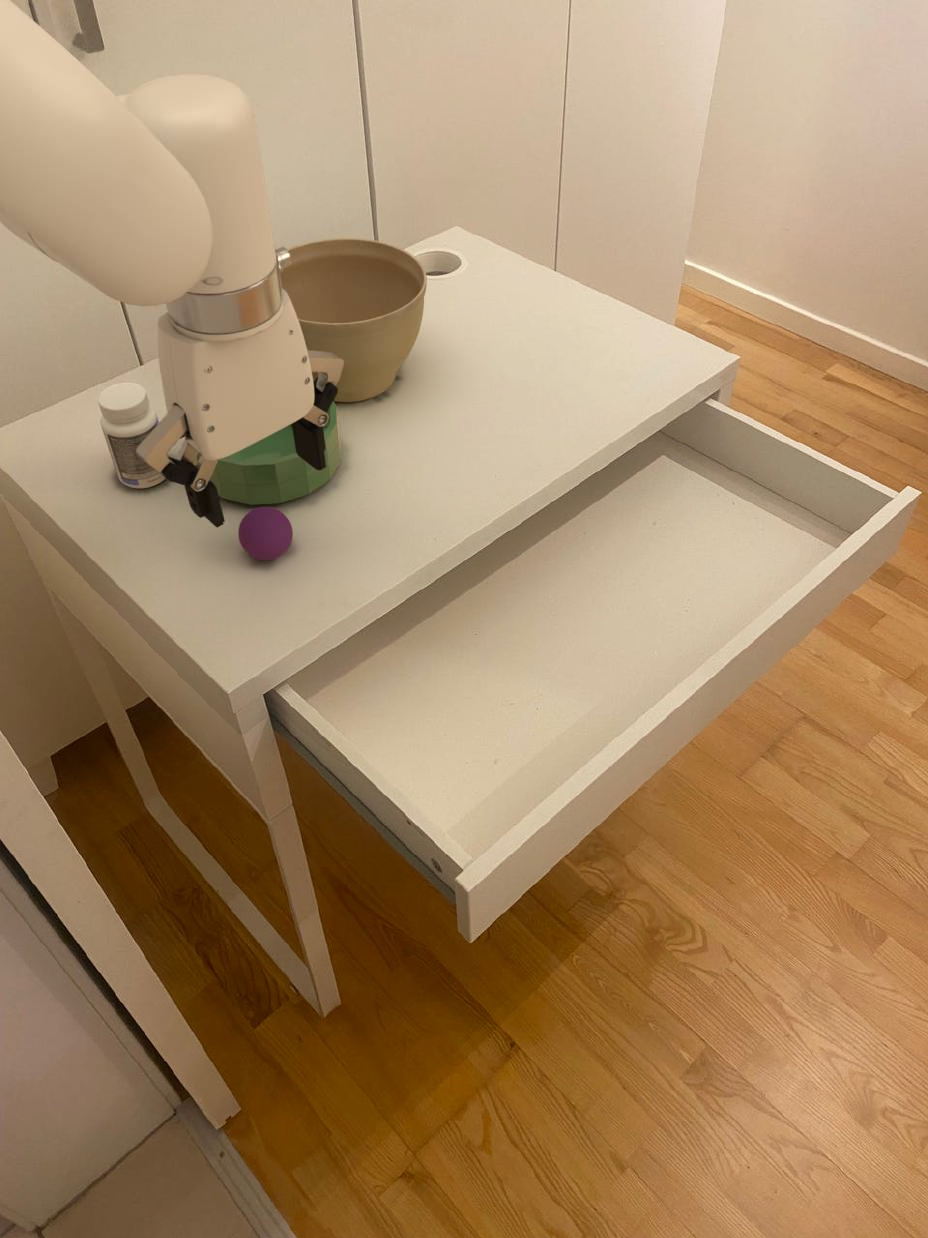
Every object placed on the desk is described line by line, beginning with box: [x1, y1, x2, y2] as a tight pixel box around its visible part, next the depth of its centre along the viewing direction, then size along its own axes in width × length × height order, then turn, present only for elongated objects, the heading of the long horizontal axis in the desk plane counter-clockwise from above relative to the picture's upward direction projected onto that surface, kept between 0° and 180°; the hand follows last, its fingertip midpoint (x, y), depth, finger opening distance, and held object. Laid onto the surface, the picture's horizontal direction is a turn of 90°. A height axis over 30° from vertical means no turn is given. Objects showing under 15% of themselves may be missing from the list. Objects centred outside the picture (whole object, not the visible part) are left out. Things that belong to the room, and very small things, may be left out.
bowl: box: [193, 401, 342, 506], centre depth 87 cm, size 13×13×5 cm
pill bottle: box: [97, 381, 167, 489], centre depth 84 cm, size 5×5×8 cm
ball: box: [237, 506, 294, 561], centre depth 79 cm, size 4×4×4 cm
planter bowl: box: [280, 237, 428, 403], centre depth 94 cm, size 16×16×11 cm
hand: (262, 488), depth 76 cm, fingers open, 9 cm apart
